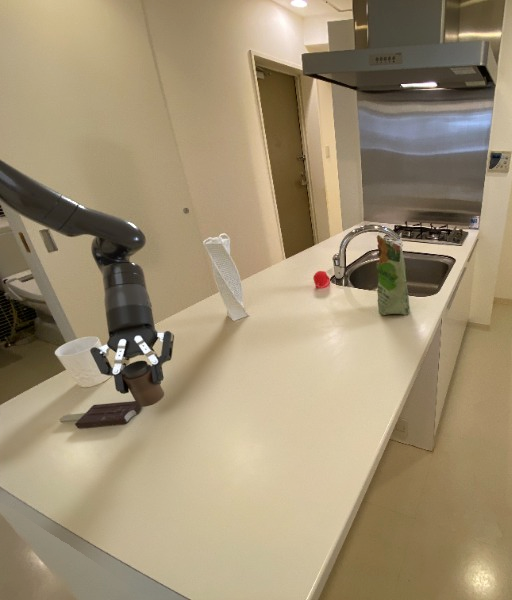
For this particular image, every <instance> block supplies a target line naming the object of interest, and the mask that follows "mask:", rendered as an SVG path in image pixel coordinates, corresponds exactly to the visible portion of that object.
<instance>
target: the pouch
mask: <svg viewBox="0 0 512 600" xmlns="http://www.w3.org/2000/svg"><path fill="white" fill-rule="evenodd" d="M376 239H377V240H376V241H377V250H378V252H377V254H376V257H377V258H378V260H379V261H377V262H376V269H377V272H378V273H377V281H378V283H377V289H376V293H377V307H378V309H377V310H378V314H380V316H386V315H395V314H397V315H398V314H399V315H400V314H401V315H404V316H408V314H409V313H410V311H411V308H410V297H409V291H408V281H407V276H406V275H407V274H406V262H405V258H404V253H403V248H402V247H401V245H400V244H398V243H394V242H391V241H390V240H387V239H386V238H383V237H382V236H381V235H379V234H378V235H376Z"/></svg>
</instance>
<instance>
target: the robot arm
mask: <svg viewBox="0 0 512 600" xmlns="http://www.w3.org/2000/svg"><path fill="white" fill-rule="evenodd" d="M0 203H2V204H3V205H4V206H6V207H7V208H8V209H10V210H12V211H13V212H15V213H17V214H18V215H20V216H21V217H24V218H25V219H28V220H30V221H32V222H33V223H36V224H38V225H40V226H43V227H45V228H47V229H49V230H50V231H51V230H52V231H53V232H56V233H58V234H60V235H62V236H65V237H69V238H77V237H81V236H83V235H84V236H85V235H88V236H92V237H94V238H93V239H92V241H91V246H90V250H91V255H92V257H93V260H94V262H95V264H96V267H97V268H98V270H99V272H100V273H101V275H102V284H103V290H104V302H103V303H104V311H105V318H106V325H107V332H108V340H107V342H106V344H104V345H102V346H101V347H99V348H96V347H93V348H91V350H90V352H91V354H92V356H93V358H94V360H95V362H96V364H97V366H98V368H99V370H100V372H101V374H104V375H108V376H111V377H112V376H113V380H114V386H115V390H116V392H119V393H120V394H124V395H125V394H128V393H129V392H130V390H129V388H128V386H127V385H126V383H125V381H124V379H123V375H124V373H123V369H124V368H125V367H126V366H127V365H129V364H130V361H131V359H133V358H136V357H138V356H146V358H147V359H148V360H149V362H150V363H151V372H152V378H153V383H154V384H155V385H158V384H160V385H161V384H162V381H164V378H165V377H164V371H163V364H165V363H167V362H169V361H170V362H171V360H172V358H173V357H172V356H173V349H174V340H175V335H174V333H172V332H171V331H170V330H165V331H164V332H158V331H157V330H156V325H155V319H154V315H153V309H152V308H153V306H152V302H151V298H150V295H149V292H148V288H147V282H146V277H145V272H144V270H143V268H142V266H141V265H139V264H138V263H135V262H131V261H130V260H131V257H132V256H133V255H135V254H136V253H139V251H141V250H142V249H143V248H144V247H145V246H146V243H147V238H146V235H145V233H144V232H143V231H142V229H140V228H139V227H138V226H137V225H135V224H134V223H132V222H131V221H129V220H126V219H123V218H121V217H118V216H115V215H113V214H112V215H111V214H109V213H105V212H102V211H101V210H100V211H99V210H96V209H92V208H89V207H86V206H84V205H83V204H81V203H79V202H77V201H75V200H74V199H71V198H70V197H67V196H65V195H64V194H62V193H60V192H59V191H56V190H54V189H52V188H50V187H48V186H47V185H45V184H43V183H42V182H39V181H38V180H35V179H34V178H33V177H31V176H29V175H27V174H25V173H24V172H22V171H20V170H19V169H17V168H15V167H14V166H12V165H10V164H8V163H7V162H6V161H4V160H2V159H1V158H0ZM158 339H159V341H160V342H161V343H162V345H161V353H160V356H158V353H157V352H156V350H155V349H154V346H155V345H156V343H157V341H158ZM110 350H111V351H113V352H115V355H114V359H113V360H114V364H113V366H112V364H111V362H110V361H108V360H109V358H108V356H109V354H110V353H109V352H110ZM107 358H108V359H107ZM109 362H110V363H109Z"/></svg>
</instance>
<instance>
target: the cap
mask: <svg viewBox="0 0 512 600" xmlns="http://www.w3.org/2000/svg"><path fill="white" fill-rule="evenodd" d="M312 279H313V283H314V285H315V288H316V289H319V290H323V289H326V288H328V287H329V286H330V285H331V279H330V277H329V276H328V274H327V272H326V271H324V270H319V271H316V272H315V273H314V274H313V278H312Z"/></svg>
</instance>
